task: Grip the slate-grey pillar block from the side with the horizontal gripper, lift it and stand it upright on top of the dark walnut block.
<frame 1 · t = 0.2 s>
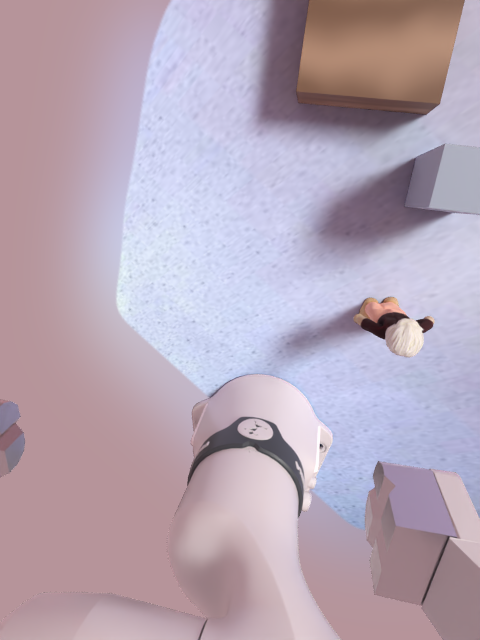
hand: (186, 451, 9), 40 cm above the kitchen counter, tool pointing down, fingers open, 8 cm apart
slate pillar block: (434, 185, 42), on the kitchen counter
walnut block: (374, 37, 40), on the kitchen counter
grandmother figurine: (384, 308, 47), on the kitchen counter
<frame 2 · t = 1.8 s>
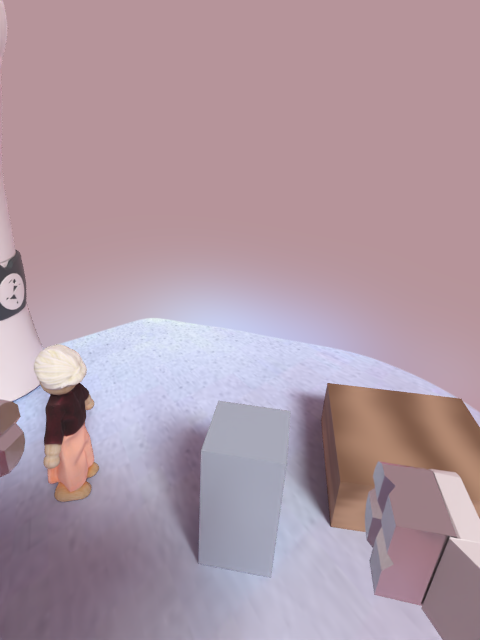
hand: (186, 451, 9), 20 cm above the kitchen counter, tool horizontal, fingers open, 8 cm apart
slate pillar block: (239, 537, 29), on the kitchen counter
walnut block: (397, 477, 36), on the kitchen counter
grandmother figurine: (75, 486, 33), on the kitchen counter
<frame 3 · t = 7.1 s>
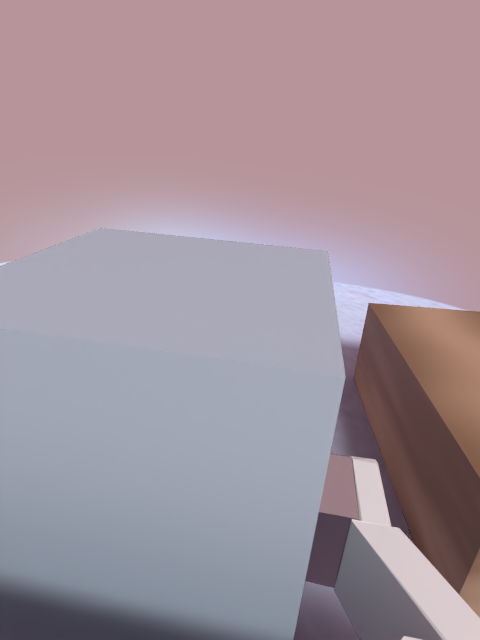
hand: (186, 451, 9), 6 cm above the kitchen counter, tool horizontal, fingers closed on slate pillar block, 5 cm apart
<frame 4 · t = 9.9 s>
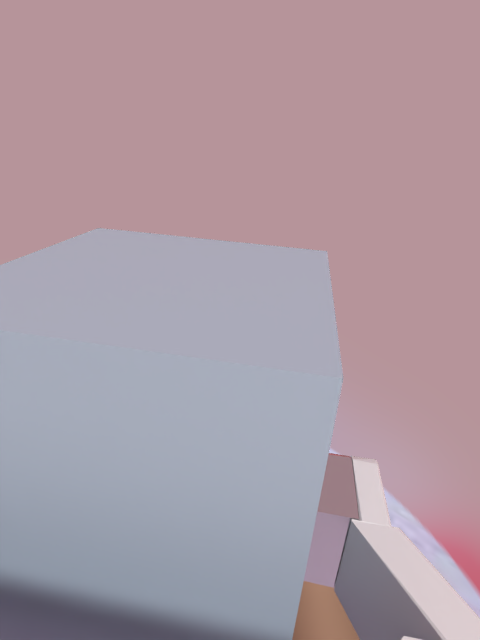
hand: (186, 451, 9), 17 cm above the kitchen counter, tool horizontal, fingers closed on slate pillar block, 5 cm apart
when the fingers open (12 cm above the kitchen counter, at t = 12.8 s): slate pillar block drops 2 cm, point 5 cm above the kitchen counter.
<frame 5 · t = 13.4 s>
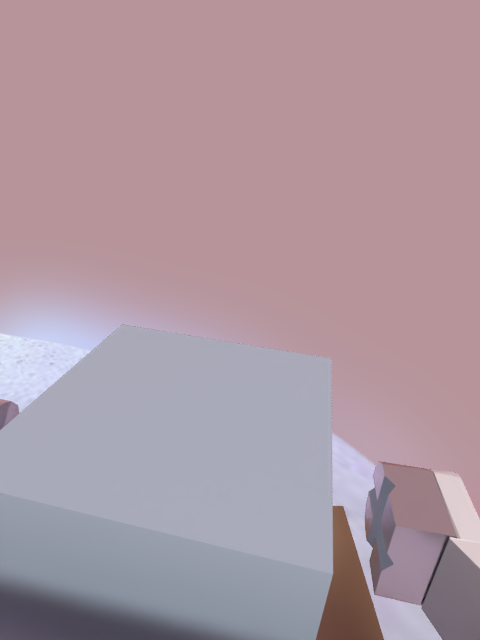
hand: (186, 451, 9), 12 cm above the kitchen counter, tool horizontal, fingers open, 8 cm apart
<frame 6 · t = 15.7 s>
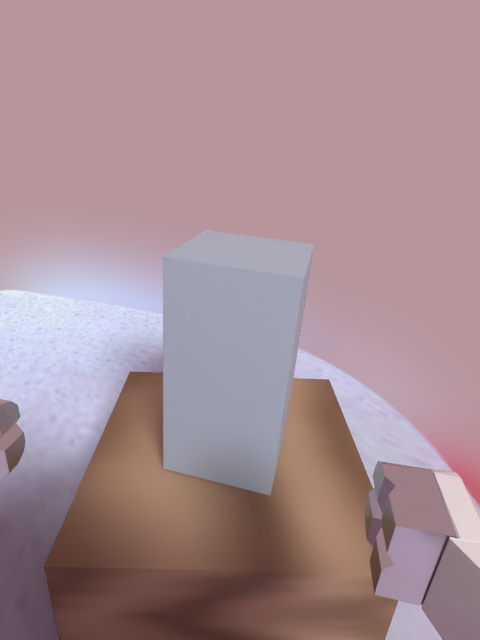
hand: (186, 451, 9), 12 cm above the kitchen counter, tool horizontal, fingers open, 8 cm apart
slate pillar block: (229, 444, 20), point 5 cm above the kitchen counter
walnut block: (225, 515, 22), on the kitchen counter
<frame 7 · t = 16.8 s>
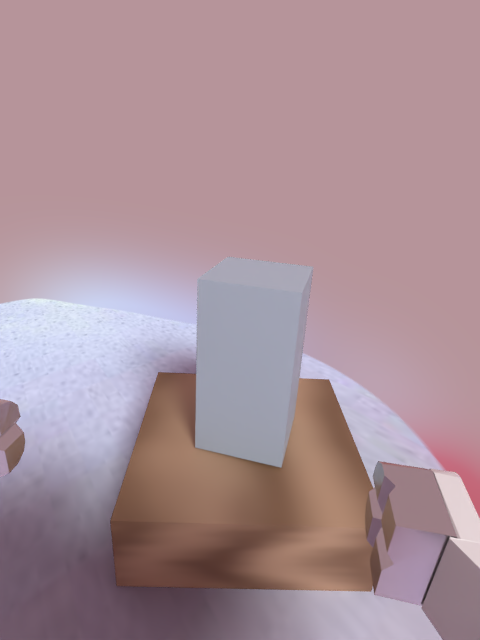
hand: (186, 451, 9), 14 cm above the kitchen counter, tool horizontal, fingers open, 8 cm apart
slate pillar block: (248, 430, 25), point 5 cm above the kitchen counter, touching walnut block
walnut block: (242, 492, 27), on the kitchen counter, touching slate pillar block
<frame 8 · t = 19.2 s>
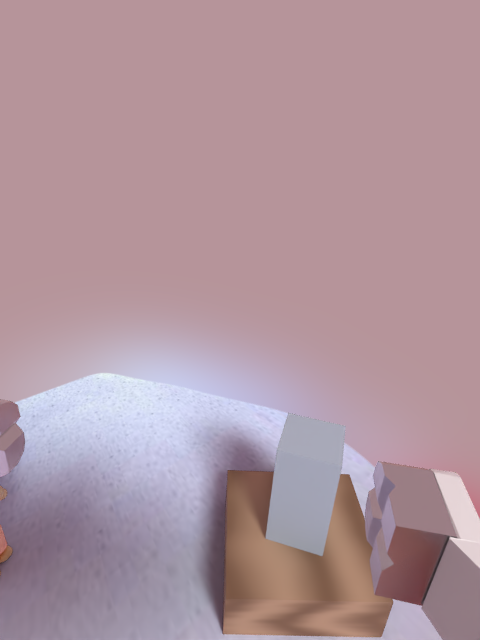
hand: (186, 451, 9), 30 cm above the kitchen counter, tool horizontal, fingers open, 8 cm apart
slate pillar block: (298, 523, 37), point 5 cm above the kitchen counter, touching walnut block
walnut block: (291, 562, 39), on the kitchen counter, touching slate pillar block
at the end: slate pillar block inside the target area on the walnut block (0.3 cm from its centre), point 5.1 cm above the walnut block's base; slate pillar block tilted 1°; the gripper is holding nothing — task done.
